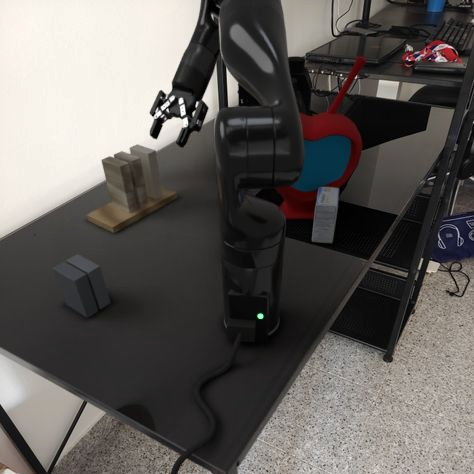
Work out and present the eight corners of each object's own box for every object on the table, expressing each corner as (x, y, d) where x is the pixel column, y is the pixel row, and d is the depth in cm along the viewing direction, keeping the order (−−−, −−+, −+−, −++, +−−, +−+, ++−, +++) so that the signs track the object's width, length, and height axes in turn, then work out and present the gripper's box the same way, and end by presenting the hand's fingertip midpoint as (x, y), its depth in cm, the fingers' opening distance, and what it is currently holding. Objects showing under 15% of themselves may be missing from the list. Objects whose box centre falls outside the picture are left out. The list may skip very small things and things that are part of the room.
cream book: (145, 188, 105) (137, 144, 98) (162, 195, 103) (155, 150, 95) (137, 192, 104) (129, 147, 96) (155, 199, 101) (147, 153, 94)
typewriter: (336, 185, 108) (354, 69, 90) (231, 177, 112) (228, 65, 94) (341, 138, 129) (356, 37, 111) (252, 133, 133) (253, 35, 115)
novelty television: (257, 222, 96) (260, 65, 75) (259, 195, 105) (262, 48, 83) (351, 223, 95) (382, 65, 73) (344, 196, 104) (370, 47, 82)
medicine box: (332, 244, 89) (338, 205, 83) (310, 242, 90) (315, 203, 84) (334, 225, 95) (340, 187, 89) (313, 223, 95) (318, 185, 89)
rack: (151, 188, 109) (143, 138, 100) (177, 198, 105) (171, 147, 96) (87, 220, 98) (72, 168, 89) (114, 233, 94) (100, 179, 85)
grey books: (89, 290, 80) (77, 253, 74) (110, 302, 77) (99, 265, 72) (66, 304, 77) (51, 267, 71) (87, 318, 75) (74, 281, 69)
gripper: (162, 57, 97) (134, 126, 99) (210, 66, 91) (179, 140, 93) (180, 78, 104) (154, 143, 106) (226, 88, 98) (197, 156, 100)
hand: (165, 141), depth 100 cm, fingers open, 8 cm apart
